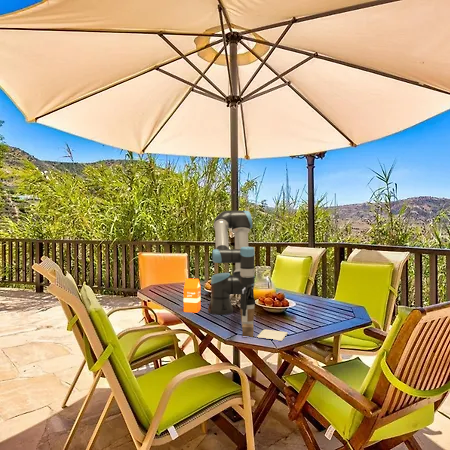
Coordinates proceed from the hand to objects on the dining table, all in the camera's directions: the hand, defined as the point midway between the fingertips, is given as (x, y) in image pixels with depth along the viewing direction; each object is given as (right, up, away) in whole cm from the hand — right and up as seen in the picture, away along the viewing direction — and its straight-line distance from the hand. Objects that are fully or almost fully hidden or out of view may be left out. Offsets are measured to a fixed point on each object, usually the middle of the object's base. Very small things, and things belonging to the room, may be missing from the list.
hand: (247, 319), depth 174 cm
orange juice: (-32, -4, +31) cm, 45 cm away
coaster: (+11, -4, -15) cm, 19 cm away
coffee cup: (0, -4, 0) cm, 4 cm away
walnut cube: (-1, -4, -14) cm, 14 cm away
